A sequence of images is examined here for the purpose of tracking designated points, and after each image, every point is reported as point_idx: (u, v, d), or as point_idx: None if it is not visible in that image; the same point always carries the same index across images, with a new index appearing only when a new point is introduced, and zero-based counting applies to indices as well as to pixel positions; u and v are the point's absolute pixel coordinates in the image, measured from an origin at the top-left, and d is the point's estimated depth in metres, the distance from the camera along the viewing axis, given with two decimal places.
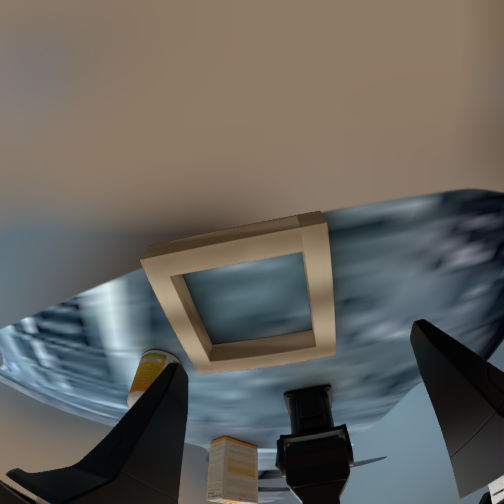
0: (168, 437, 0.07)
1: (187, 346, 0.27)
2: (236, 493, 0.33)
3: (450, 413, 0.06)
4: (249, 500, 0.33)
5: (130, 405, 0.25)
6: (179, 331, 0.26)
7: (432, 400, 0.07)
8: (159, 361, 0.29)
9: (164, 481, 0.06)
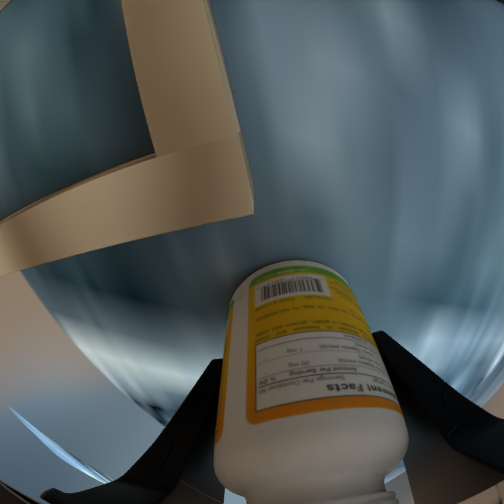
0: None
1: (94, 233, 0.07)
2: None
3: None
4: None
5: None
6: (49, 247, 0.08)
7: None
8: (226, 329, 0.10)
9: (213, 485, 0.06)
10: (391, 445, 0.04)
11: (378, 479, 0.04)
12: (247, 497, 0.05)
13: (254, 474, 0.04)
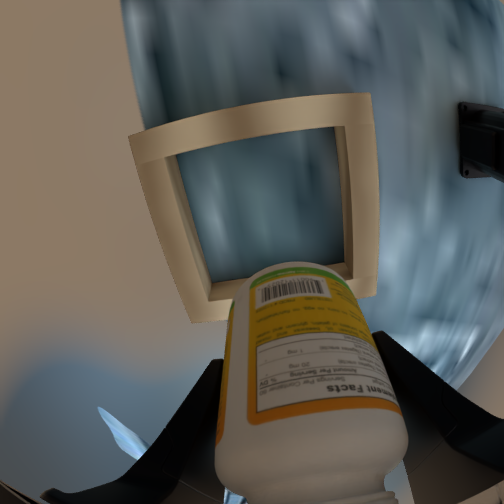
0: None
1: None
2: None
3: None
4: None
5: None
6: None
7: None
8: (227, 330, 0.10)
9: (213, 485, 0.06)
10: (391, 445, 0.04)
11: (378, 479, 0.04)
12: (248, 497, 0.05)
13: (255, 474, 0.04)
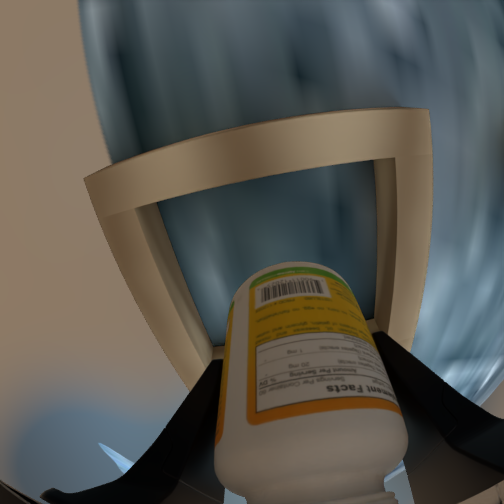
0: None
1: None
2: None
3: None
4: None
5: None
6: None
7: None
8: (227, 330, 0.10)
9: (213, 485, 0.06)
10: (390, 446, 0.04)
11: (377, 480, 0.04)
12: (247, 497, 0.05)
13: (254, 475, 0.04)
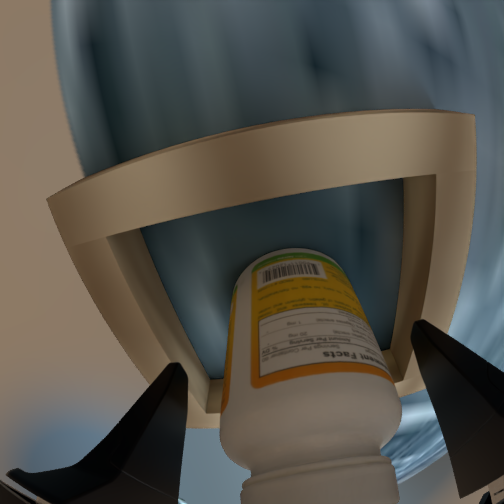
0: (168, 437, 0.07)
1: None
2: None
3: (450, 413, 0.06)
4: None
5: None
6: None
7: (432, 400, 0.07)
8: (231, 311, 0.11)
9: (164, 481, 0.06)
10: (384, 410, 0.05)
11: (374, 445, 0.05)
12: (251, 464, 0.06)
13: (258, 436, 0.05)
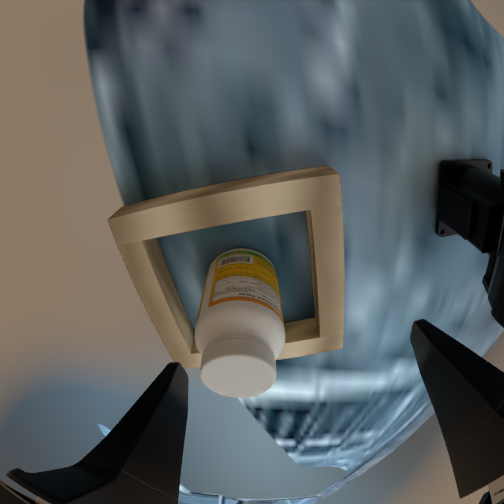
0: (168, 437, 0.07)
1: (289, 354, 0.23)
2: None
3: (450, 413, 0.06)
4: None
5: None
6: None
7: (432, 400, 0.07)
8: None
9: (164, 481, 0.06)
10: (265, 321, 0.15)
11: (262, 339, 0.14)
12: (207, 347, 0.15)
13: (209, 326, 0.15)
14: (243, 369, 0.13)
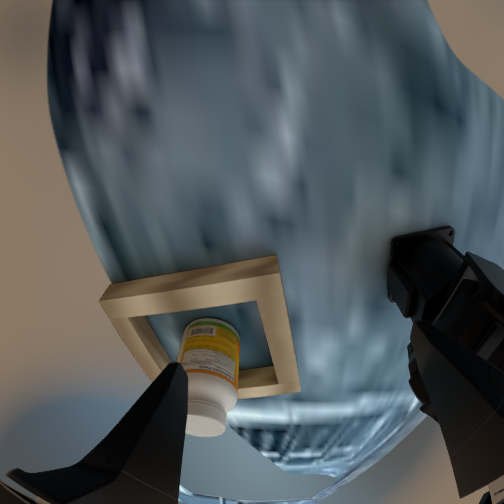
0: (168, 437, 0.07)
1: (255, 394, 0.26)
2: None
3: (450, 413, 0.06)
4: None
5: None
6: None
7: (432, 400, 0.07)
8: None
9: (164, 481, 0.06)
10: (217, 388, 0.18)
11: (215, 400, 0.18)
12: None
13: None
14: (200, 422, 0.17)
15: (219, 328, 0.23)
